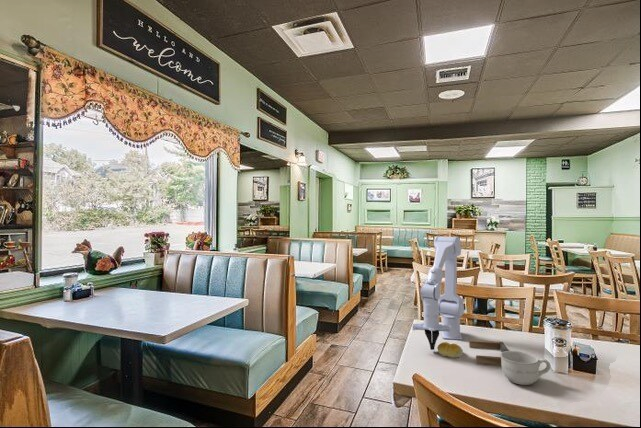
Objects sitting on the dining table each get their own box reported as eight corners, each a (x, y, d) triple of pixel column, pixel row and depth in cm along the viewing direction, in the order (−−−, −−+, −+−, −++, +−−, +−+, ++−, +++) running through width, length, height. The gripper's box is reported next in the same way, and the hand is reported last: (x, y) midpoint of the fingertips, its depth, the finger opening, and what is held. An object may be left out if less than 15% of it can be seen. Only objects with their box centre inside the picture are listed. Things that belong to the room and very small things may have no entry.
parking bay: (469, 346, 137) (468, 340, 137) (503, 348, 134) (502, 341, 134) (477, 363, 121) (477, 357, 121) (515, 366, 118) (515, 359, 118)
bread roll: (441, 347, 137) (441, 337, 137) (464, 352, 131) (464, 342, 131) (433, 354, 131) (433, 344, 131) (457, 360, 125) (457, 349, 125)
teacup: (501, 384, 107) (500, 359, 107) (500, 369, 117) (500, 346, 116) (554, 394, 100) (553, 368, 100) (549, 378, 110) (548, 353, 110)
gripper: (412, 316, 130) (413, 351, 131) (452, 318, 127) (453, 354, 127) (412, 311, 137) (413, 344, 137) (449, 312, 134) (450, 346, 134)
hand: (432, 348), depth 133 cm, fingers closed
